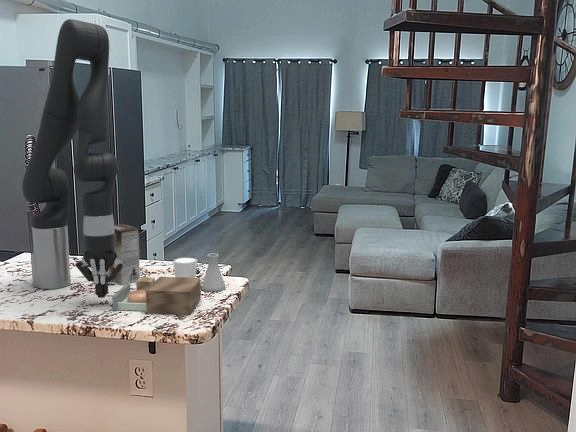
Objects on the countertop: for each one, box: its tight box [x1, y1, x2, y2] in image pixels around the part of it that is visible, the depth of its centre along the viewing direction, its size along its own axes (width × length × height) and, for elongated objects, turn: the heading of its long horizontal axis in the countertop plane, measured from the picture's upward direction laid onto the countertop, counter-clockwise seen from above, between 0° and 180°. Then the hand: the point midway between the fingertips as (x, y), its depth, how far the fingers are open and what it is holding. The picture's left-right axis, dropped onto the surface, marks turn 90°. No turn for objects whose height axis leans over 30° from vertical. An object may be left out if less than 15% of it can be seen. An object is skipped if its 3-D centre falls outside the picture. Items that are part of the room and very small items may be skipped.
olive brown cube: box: [135, 276, 156, 290], centre depth 160 cm, size 4×4×4 cm
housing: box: [146, 276, 202, 316], centre depth 148 cm, size 11×12×6 cm
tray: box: [112, 283, 147, 312], centre depth 149 cm, size 11×10×4 cm
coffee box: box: [109, 223, 141, 286], centre depth 169 cm, size 9×6×16 cm
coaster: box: [127, 289, 146, 303], centre depth 149 cm, size 6×6×2 cm
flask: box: [200, 252, 226, 293], centre depth 163 cm, size 7×7×10 cm
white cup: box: [172, 257, 198, 278], centre depth 168 cm, size 7×7×7 cm
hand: (102, 296), depth 150 cm, fingers closed
